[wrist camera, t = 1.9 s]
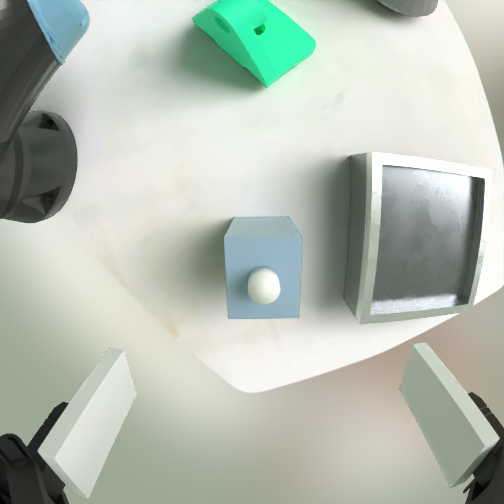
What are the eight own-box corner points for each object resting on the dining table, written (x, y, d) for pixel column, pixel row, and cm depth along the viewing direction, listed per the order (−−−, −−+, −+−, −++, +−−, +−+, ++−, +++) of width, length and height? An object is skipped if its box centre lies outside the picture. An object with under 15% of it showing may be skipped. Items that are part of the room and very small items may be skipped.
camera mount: (315, 53, 27) (337, 12, 17) (266, 90, 28) (270, 56, 19) (245, -6, 25) (241, -55, 15) (196, 27, 26) (175, -17, 16)
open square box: (343, 298, 35) (359, 324, 28) (350, 155, 30) (372, 152, 24) (446, 291, 34) (471, 310, 28) (459, 168, 30) (491, 170, 23)
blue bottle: (235, 277, 34) (225, 330, 23) (233, 217, 32) (220, 243, 21) (287, 276, 34) (302, 329, 22) (288, 216, 32) (306, 242, 21)
